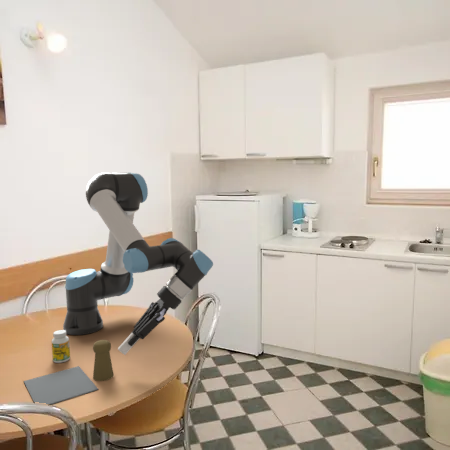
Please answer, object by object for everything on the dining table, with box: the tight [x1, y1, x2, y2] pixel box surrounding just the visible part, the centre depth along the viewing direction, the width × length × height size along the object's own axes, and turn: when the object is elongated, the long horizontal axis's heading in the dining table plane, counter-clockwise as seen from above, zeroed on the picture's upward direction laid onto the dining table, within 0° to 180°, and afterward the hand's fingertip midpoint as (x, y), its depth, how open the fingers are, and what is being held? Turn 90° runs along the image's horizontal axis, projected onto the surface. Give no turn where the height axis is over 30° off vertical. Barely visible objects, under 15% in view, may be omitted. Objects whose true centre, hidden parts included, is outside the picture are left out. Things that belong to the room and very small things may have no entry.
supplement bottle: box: [51, 329, 71, 364], centre depth 133 cm, size 5×5×10 cm
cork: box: [92, 339, 114, 382], centre depth 121 cm, size 6×6×11 cm
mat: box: [23, 365, 99, 405], centre depth 116 cm, size 18×16×1 cm
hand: (121, 351), depth 123 cm, fingers closed
